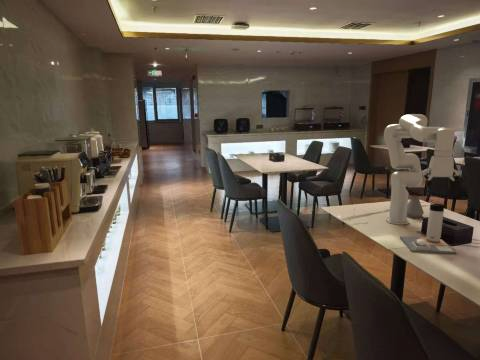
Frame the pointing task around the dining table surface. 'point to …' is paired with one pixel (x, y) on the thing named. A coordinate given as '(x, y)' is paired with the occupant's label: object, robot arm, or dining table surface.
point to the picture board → (427, 246)
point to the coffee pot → (414, 207)
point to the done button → (421, 242)
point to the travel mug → (435, 223)
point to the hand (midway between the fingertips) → (438, 188)
